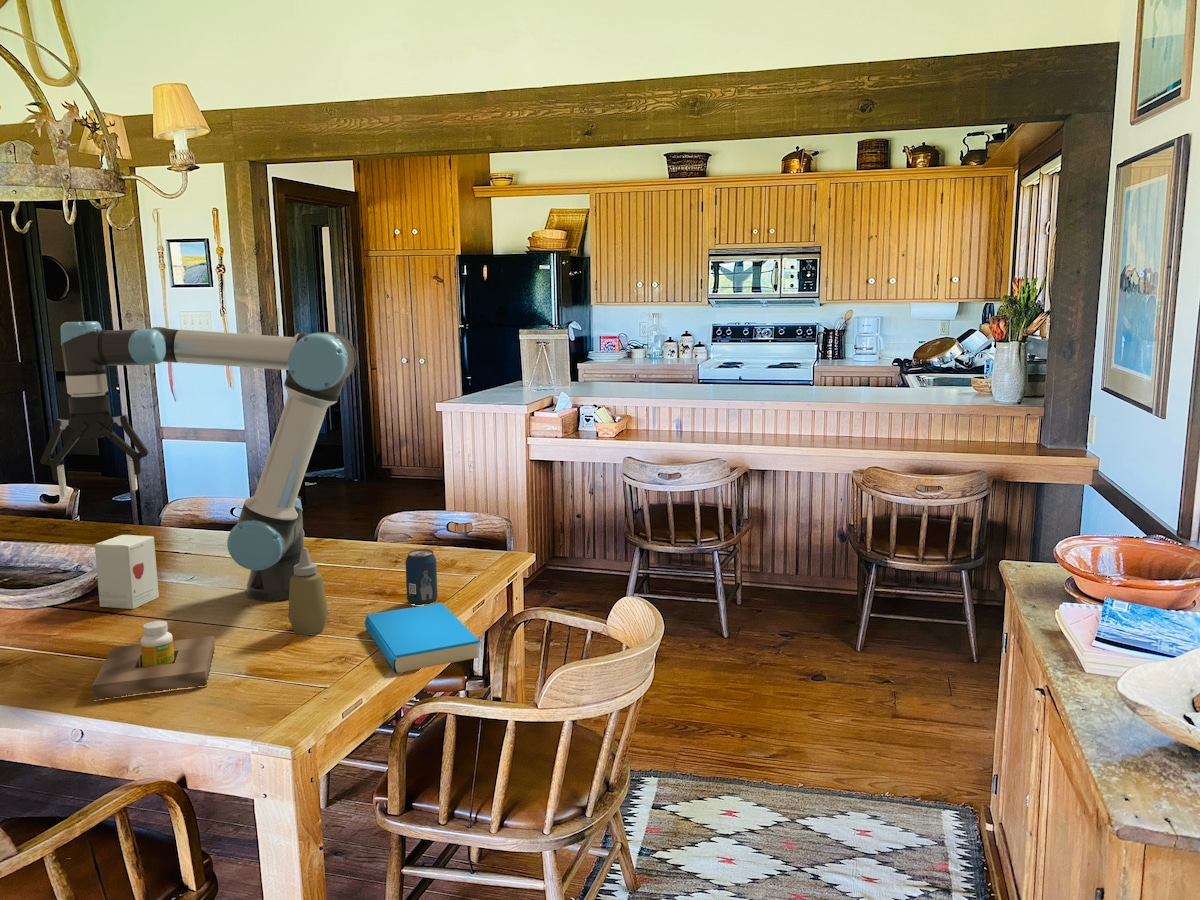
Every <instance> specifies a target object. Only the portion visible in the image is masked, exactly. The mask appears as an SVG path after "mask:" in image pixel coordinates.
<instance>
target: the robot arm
mask: <svg viewBox="0 0 1200 900" xmlns="http://www.w3.org/2000/svg"><path fill="white" fill-rule="evenodd" d="M60 346H61V350H62V356H63V365H64V371H65V372H64V373H65V385H66V391H67V392H66V393H67V394H68V395H70V396H69V397H68V399H67V400H68V407H69V416H70V417H69V419H61V418H57V419H55V420H54V421H53V423H52V424H53V429H52V433H51V435H50V437H49V440H48V442H47V444H46V446H45V449H44V451H43V454H42V456H41V458H40V459H39V462H40V464H41V465H46V466H49V467H50V468H51V474H52V476H51V477H52V480H53V482H58V487H59V495H60V498H62V497H63V498H64V497H66V496H68V490H67V489H68V488H67V482H66V480H67V479H66V474H65V466H64V464H60V463H61V461H62V460H64V458H65V457H66V455H68V453H69V452H70V451H71V449H72V448H73V447H74V445H75V444H76V443H77V442H78V441H79V439H80V438H82V439H84V440H89V439H91V438H94V439H101V438H103V437H106V438H107V439H108V440H110V441H111V442H112V443H114V444H115V446H117V447H118V448H119V449H121V450H122V451H123V452H124V453H125V454H126V455H127V456H129V457H130V458H131V459H130V460H128V464H129V472H130V473H129V474H130V481H131V483H130V484H131V490H132V491H134V492H135V491H137V490H138V489H139V488H138V479H137V475H140V474H141V473H142V466H141V464H142V463H141V459H143V458H145V457H147V456H148V455H149V450H148V449H147V447H146V446H145V445H144V443H143V442H142V440H141V438H140V437H139V436H138V434H137V433H136V431H135V430H134V428H133V427H132V426H131V424H130V421H129V416H128V415H127V414H122V415H121V416H120V415H119V416H113V415H112V413H111V412H112V411H111V404H110V397H109V395H108V394H106V393H108V392H109V387H108V381H107V380H108V379H107V378H108V377H107V369H106V367H112V366H150V365H159V364H161V363H181V364H195V365H196V364H197V365H198V364H199V365H212V366H222V367H223V366H225V367H226V366H227V367H241V368H252V369H253V368H255V369H268V370H271V369H272V370H280V371H281V370H282V371H283V370H286V371H287V375H286V377H285V380H284V383H283V386H284V387H285V390H286V392H287V398H286V401H285V404H284V406H283V409H282V413H281V416H280V419H279V421H278V424H277V426H276V431H275V434H274V435H273V439H272V442H271V445H270V448H269V451H268V454H267V457H266V460H265V463H264V466H263V469H262V472H261V475H260V477H259V481H258V484H257V487H256V489H255V493H254V495H252V496H250V497H248V498H246V499H245V500H244V502H243V505H242V508H241V512H240V513H239V518H238V521H237V523H236V524H235V525H234V526H233V527H232V528H231V530H230V532H229V534H228V535H227V536H228V537H227V540H226V541H227V542H226V543H227V544H226V546H227V550H228V551H227V552H228V554H229V555H230V557H231V558H232V560H233V562H235V563H236V564H237V565H239V566H240V567H242V568H243V569H247V570H250V572H249V576H248V579H247V584H246V594H247V597H249V598H251V599H253V600H258V601H267V602H268V601H270V602H271V601H282V600H283V601H284V600H289V587H290V578H291V577H292V576H293V575H295V574H294V566H295V565H296V564H299V560H300V554H301V549H302V548H305V541H304V523H303V522H304V521H303V508H302V507H303V506H302V501H301V498H299V497H298V495H299V493H300V492H299V491H300V490H301V486H302V483H303V480H304V478H305V474H306V472H307V470H308V469H307V468H308V466H309V463H310V460H311V457H312V454H313V451H314V449H315V445H316V442H317V440H318V436H319V433H320V430H321V428H322V425H323V422H324V420H325V417H326V413H327V409H328V408H329V407H330V406H333V405H335V404H336V403H338V401H339V398H340V394H341V392H342V388H343V385H344V384H345V381H346V379H347V378H348V377H350V375H351V374H352V373H353V371H354V370H355V367H356V364H357V351H356V349H355V347H354V345H353V343H352V342H351V341H350V340H349V339H348V338H347V337H345V336H344V335H343V334H341V333H338V332H334V331H324V332H323V331H322V332H313V333H300V332H299V333H297V334H295V335H294V336H281V335H266V334H264V335H263V334H251V333H237V332H222V331H221V332H220V331H207V330H206V331H205V330H190V329H176V328H167V327H161V326H153V327H151V328H136V329H133V328H132V329H117V330H115V329H113V330H106V329H103V328H102V326H101V323H100V322H99V321H95V320H94V321H92V320H91V321H67V322H66V321H65V322H63V323H62V324H61V326H60ZM114 423H116V424H117V426H119V427H122V429H123V431H124V432H125V434H126V436H128V438H129V440H130V441H131V442H132V443H133V446H134V447H135V449H137V451H138V452H137V451H136V450H135V449H134V448H133V447H132V446H130V444H128V443H127V442H126V441H125V440H124V439H122V438H121V437H120V436H119V435H118V434H117V433H116V432H115V431H113V430H112V429H111V428H112V426H113V425H114ZM67 426H69V428H71V429H72V430H73V431H74V432H73V434H72V435H71V436H70V438H68V441H67V442H65V444H64V446H63V447H62V448H61V449H60V450H59V451H58V453H57V454H56V455H55V457H54V458H51V457H52V455H53V453H54V450H55V448H56V446H57V444H58V442H59V439H60V437H61V434H62V432H63V430H65V429H66V428H67Z"/></svg>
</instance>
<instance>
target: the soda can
mask: <svg viewBox="0 0 1200 900" xmlns="http://www.w3.org/2000/svg"><path fill="white" fill-rule="evenodd" d="M437 570H438V569H437V558H436V556H435V554H434V551H433V550H431V549H427V548H426V549H425V548H424V549H423V548H422V549H413V550H410V551H409V552H407V557H406V559H405V584H406V599H407V602H408V603H409V604H410V603H411V604H415V605H422V604H430V603H433V602H435V603H436V601H437V600H438V596H439V595H438V572H437Z"/></svg>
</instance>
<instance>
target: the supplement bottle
mask: <svg viewBox="0 0 1200 900" xmlns="http://www.w3.org/2000/svg"><path fill="white" fill-rule="evenodd" d="M168 628H169V627H168V622H167V621H166V620H153V621H152V620H151V621H149V622H145V623H144V624H143V634H144V635H143V636H142V637H141V638H140V644H141V654H142V665H143V667H149V666H157V665H166V664H174V663H175V660H174V647H173V641H174V638H173V634H172V633H171V632H169V631H168Z"/></svg>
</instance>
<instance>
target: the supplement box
mask: <svg viewBox="0 0 1200 900" xmlns="http://www.w3.org/2000/svg"><path fill="white" fill-rule="evenodd" d="M94 553H95V564H96V565H95V567H96V576H97V587H98V588H97V589H98V598H99V599H98V600H99V607H100V608H101V607H103V608H113V609H114V608H115V609H125V610H126V609H127V610H135V609H137V608H139V607H140V606H141V607H142V606H143V605H145V604H147V603H151V602H152V601H153V600H157V599H159V598H160V595H159V581H158V572H157V570H158V569H157V558H156V546H155V537H154V536H152V535H136V534H135V535H133V534H121V535H118V536H115V537H113V538H109V539H106V540H103V541H100V542H97V543H95V544H94Z"/></svg>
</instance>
